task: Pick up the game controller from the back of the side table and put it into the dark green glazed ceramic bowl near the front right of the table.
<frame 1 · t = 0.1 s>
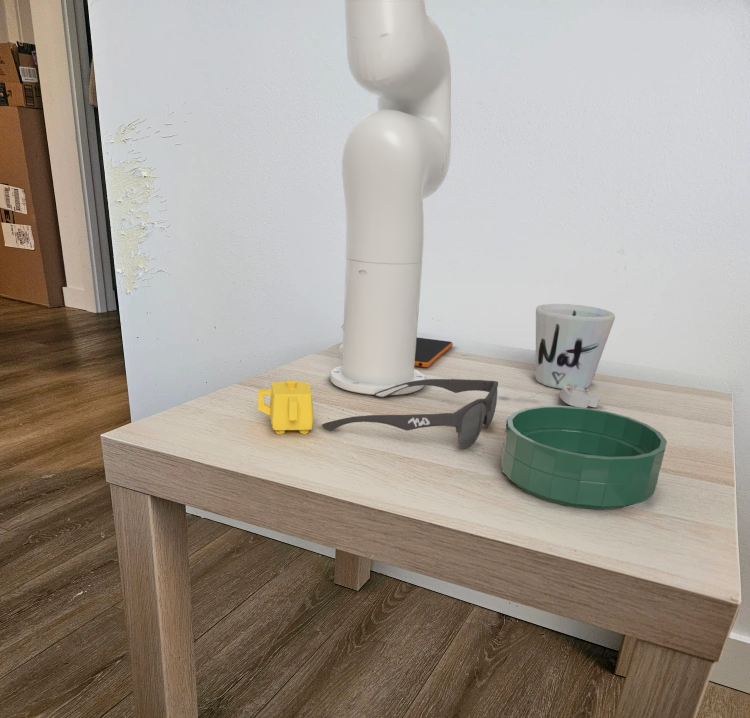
teapot: (285, 429, 73), on the table
bowl: (575, 479, 64), on the table
sunglasses: (415, 425, 76), on the table
game controller: (550, 403, 86), on the table
smartphone: (418, 354, 106), on the table
mug: (564, 380, 97), on the table
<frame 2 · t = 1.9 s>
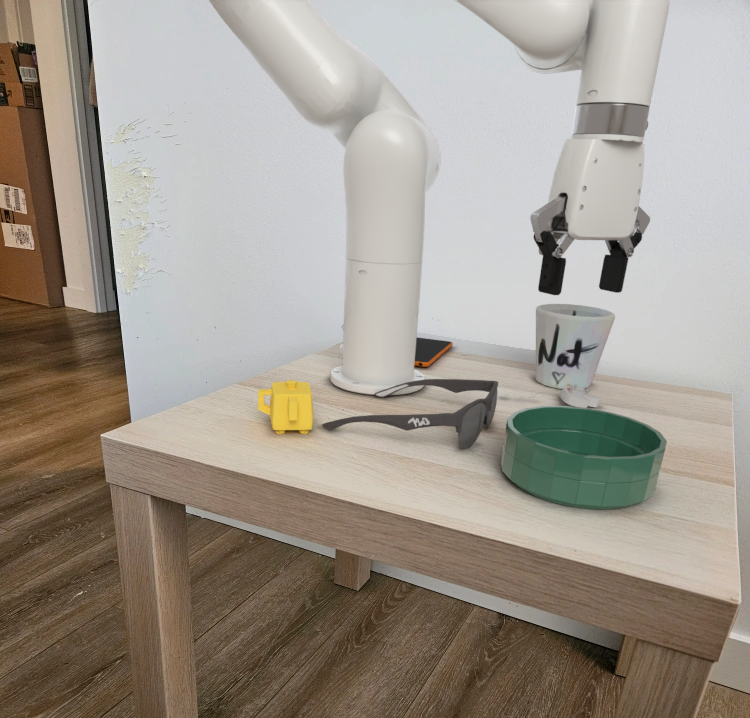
hand: (580, 292, 80), 14 cm above the table, tool pointing down, fingers open, 9 cm apart
nothing on the table moved.
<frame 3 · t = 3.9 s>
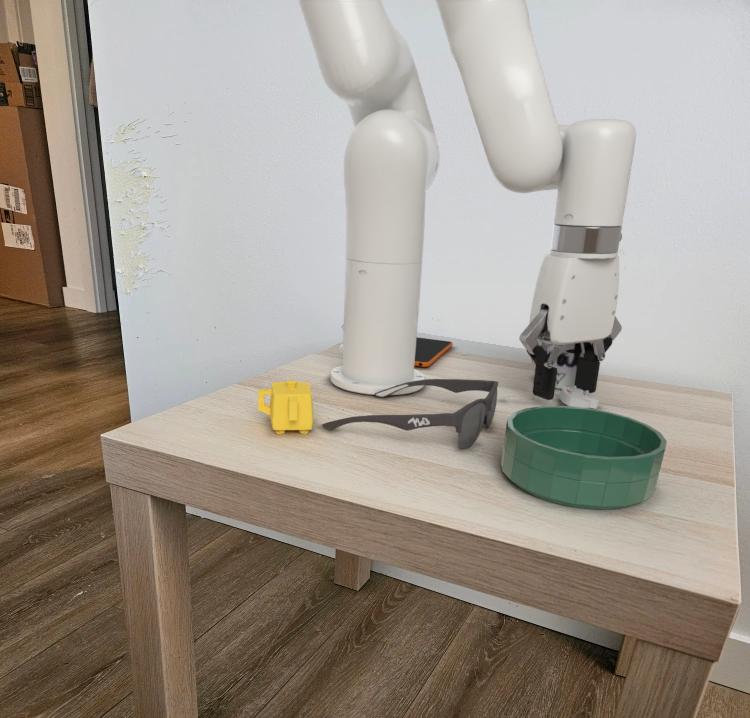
hand: (564, 392, 85), 1 cm above the table, tool pointing down, fingers closed on game controller, 6 cm apart
game controller: (549, 405, 85), on the table, touching gripper
everything else where it was.
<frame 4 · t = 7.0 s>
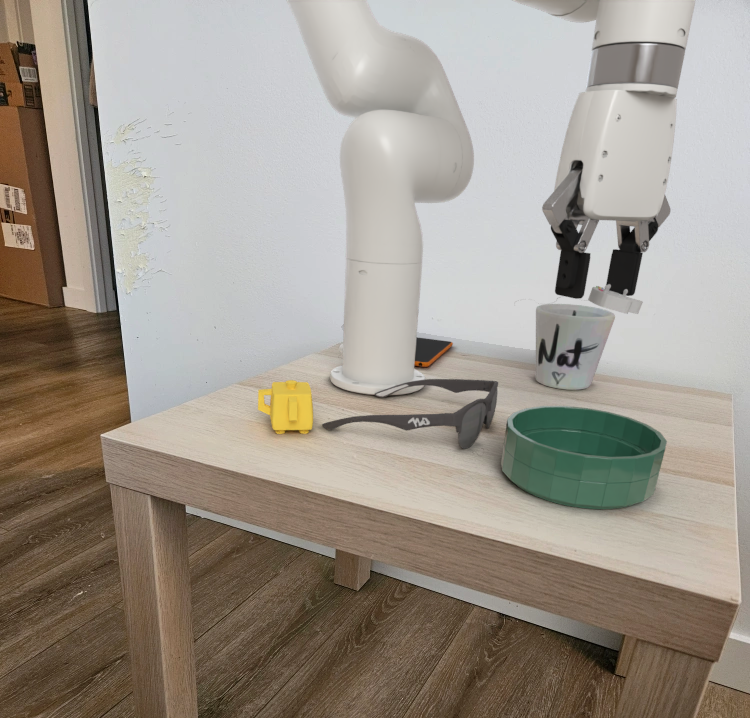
hand: (594, 293, 65), 16 cm above the table, tool pointing down, fingers closed on game controller, 6 cm apart
game controller: (576, 311, 65), point 14 cm above the table, touching gripper
everything else where it was.
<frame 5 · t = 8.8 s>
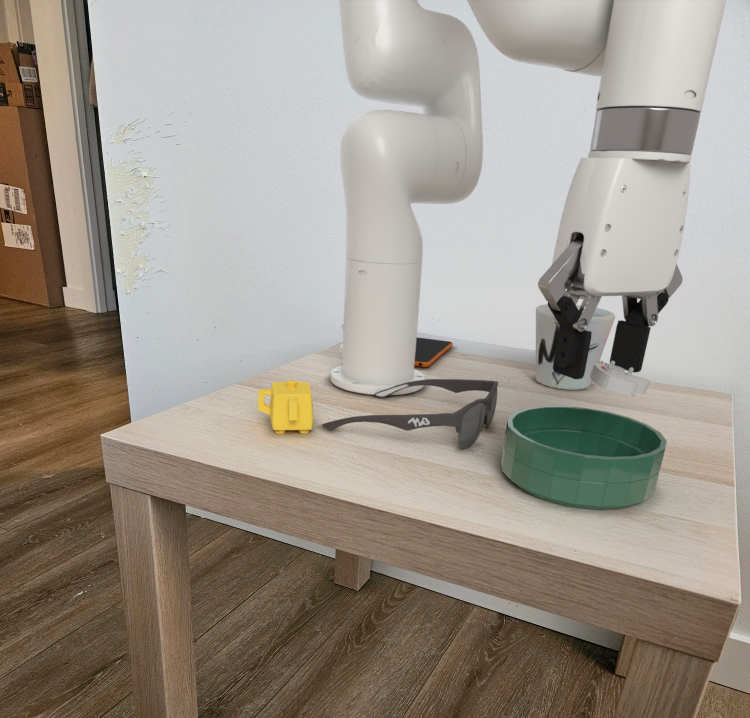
hand: (597, 370, 59), 11 cm above the table, tool pointing down, fingers closed on game controller, 6 cm apart
game controller: (576, 389, 59), point 9 cm above the table, touching gripper
everything else where it was.
when the fingers open (6 cm above the table, at t = 10.3 s): game controller drops 2 cm, resting on bowl.
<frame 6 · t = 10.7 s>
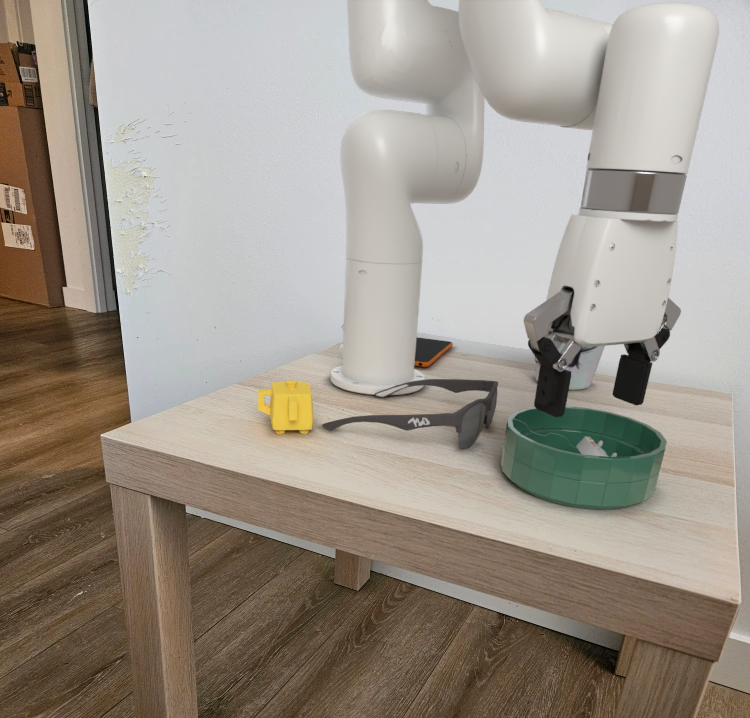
hand: (589, 406, 61), 7 cm above the table, tool pointing down, fingers open, 9 cm apart
game controller: (560, 453, 62), point 3 cm above the table, touching bowl
everything else where it was.
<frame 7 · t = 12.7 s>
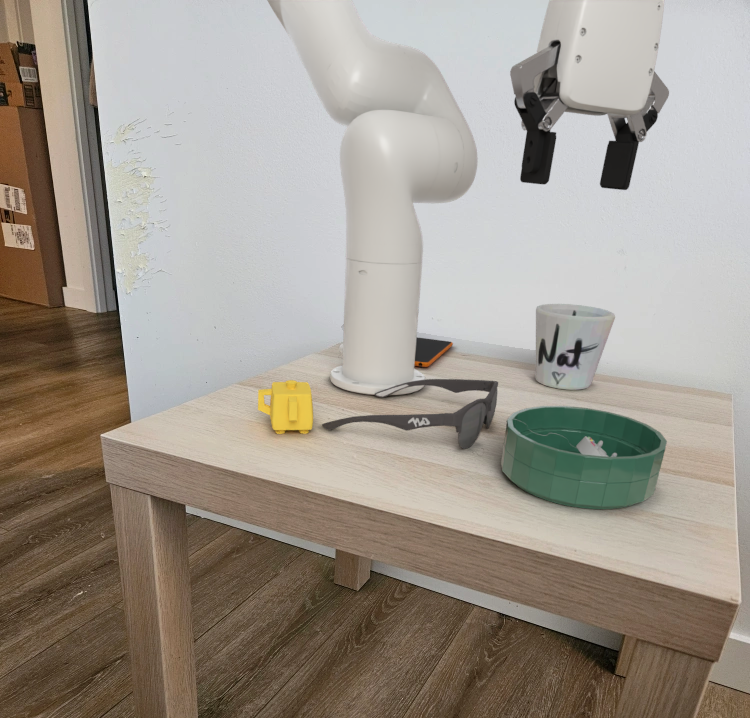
hand: (574, 186, 62), 25 cm above the table, tool pointing down, fingers open, 9 cm apart
nothing on the table moved.
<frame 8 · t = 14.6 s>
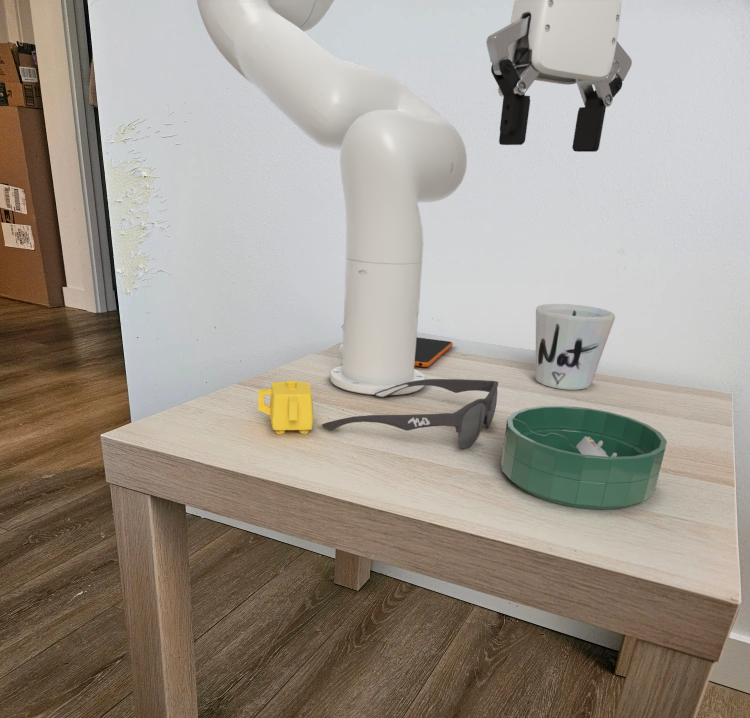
hand: (549, 148, 67), 28 cm above the table, tool pointing down, fingers open, 9 cm apart
nothing on the table moved.
at the end: game controller inside the target area in the bowl (2.1 cm from its centre), point 2.8 cm above the bowl's base; the gripper is holding nothing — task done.
